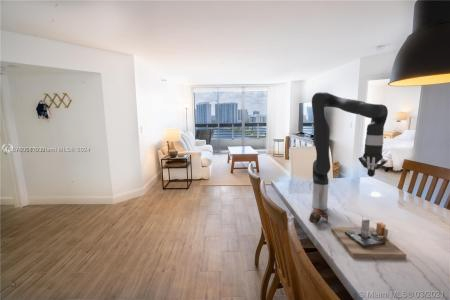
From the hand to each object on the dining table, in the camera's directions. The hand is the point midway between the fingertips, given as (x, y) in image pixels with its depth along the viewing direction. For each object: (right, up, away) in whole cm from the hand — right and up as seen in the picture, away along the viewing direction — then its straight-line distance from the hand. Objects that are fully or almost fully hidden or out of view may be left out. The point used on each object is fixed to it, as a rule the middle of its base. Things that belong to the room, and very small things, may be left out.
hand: (370, 176), depth 110 cm
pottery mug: (-23, -28, +12) cm, 38 cm away
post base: (-10, -31, -10) cm, 34 cm away
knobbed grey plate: (-8, -29, -10) cm, 31 cm away
